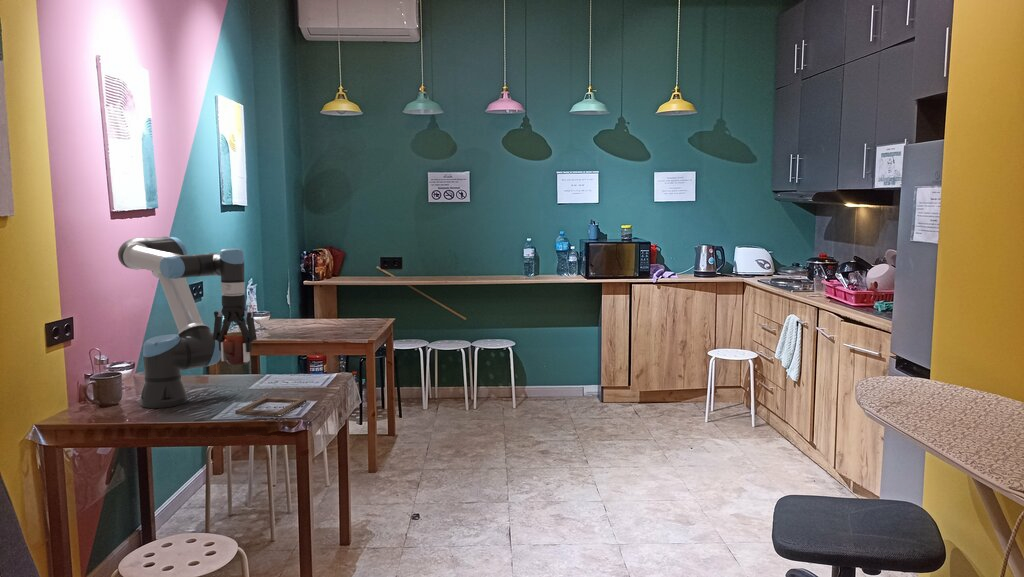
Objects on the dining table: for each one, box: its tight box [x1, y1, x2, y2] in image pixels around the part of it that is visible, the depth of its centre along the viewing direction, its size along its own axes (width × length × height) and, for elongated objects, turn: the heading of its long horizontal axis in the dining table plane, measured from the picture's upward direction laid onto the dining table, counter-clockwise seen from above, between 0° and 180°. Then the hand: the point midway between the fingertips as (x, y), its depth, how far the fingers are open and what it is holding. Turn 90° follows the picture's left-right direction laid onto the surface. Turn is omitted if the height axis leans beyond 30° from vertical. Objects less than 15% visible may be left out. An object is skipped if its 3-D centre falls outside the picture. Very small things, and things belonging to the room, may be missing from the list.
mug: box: [223, 331, 250, 366], centre depth 257 cm, size 12×9×10 cm
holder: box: [234, 396, 307, 417], centre depth 258 cm, size 16×19×1 cm
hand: (235, 360), depth 257 cm, fingers closed on mug, 7 cm apart
